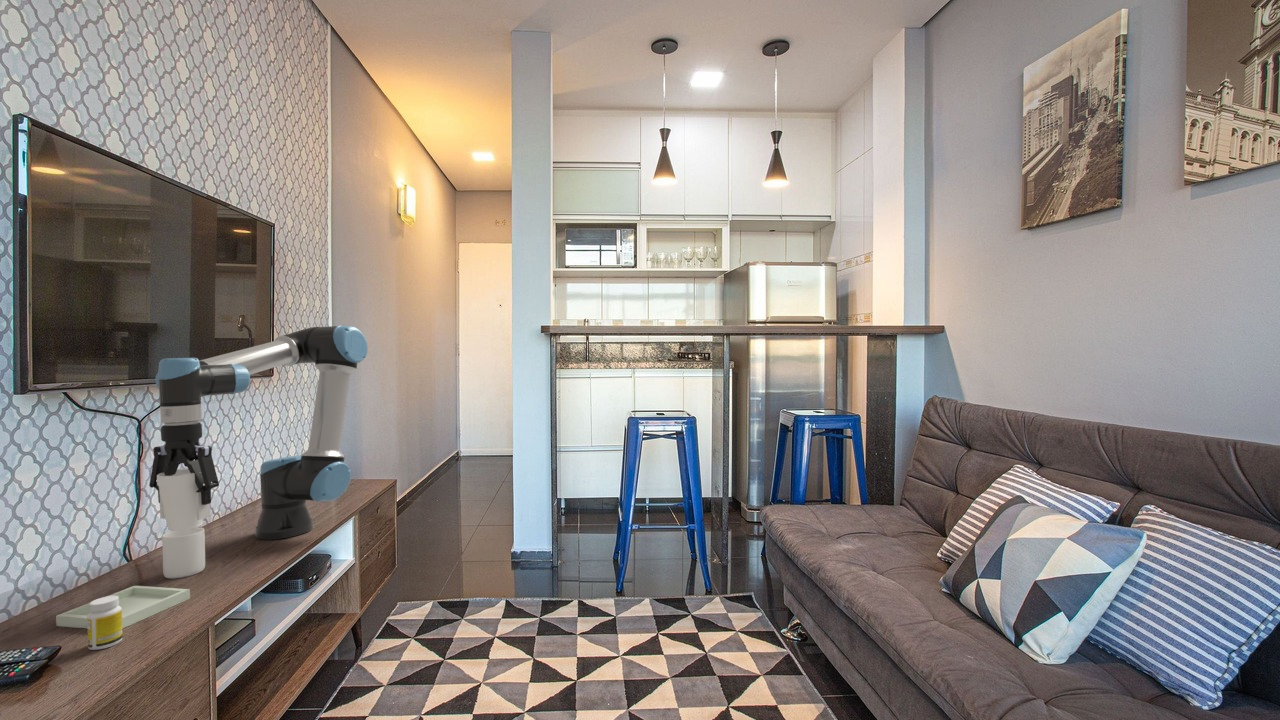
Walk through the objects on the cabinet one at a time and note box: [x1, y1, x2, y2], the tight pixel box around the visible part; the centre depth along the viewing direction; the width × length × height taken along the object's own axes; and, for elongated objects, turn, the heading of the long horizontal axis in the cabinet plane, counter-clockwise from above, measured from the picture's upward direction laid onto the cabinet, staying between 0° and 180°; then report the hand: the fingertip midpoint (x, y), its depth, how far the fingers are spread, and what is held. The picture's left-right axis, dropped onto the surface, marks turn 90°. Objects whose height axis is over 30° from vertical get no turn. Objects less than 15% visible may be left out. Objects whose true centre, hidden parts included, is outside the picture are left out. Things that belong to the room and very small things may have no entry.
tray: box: [55, 585, 191, 630], centre depth 120 cm, size 15×15×2 cm
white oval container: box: [161, 526, 206, 580], centre depth 143 cm, size 12×8×10 cm
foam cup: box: [156, 467, 204, 532], centre depth 133 cm, size 10×9×13 cm
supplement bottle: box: [87, 595, 124, 651], centre depth 106 cm, size 5×5×8 cm
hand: (185, 517), depth 133 cm, fingers closed on foam cup, 9 cm apart
